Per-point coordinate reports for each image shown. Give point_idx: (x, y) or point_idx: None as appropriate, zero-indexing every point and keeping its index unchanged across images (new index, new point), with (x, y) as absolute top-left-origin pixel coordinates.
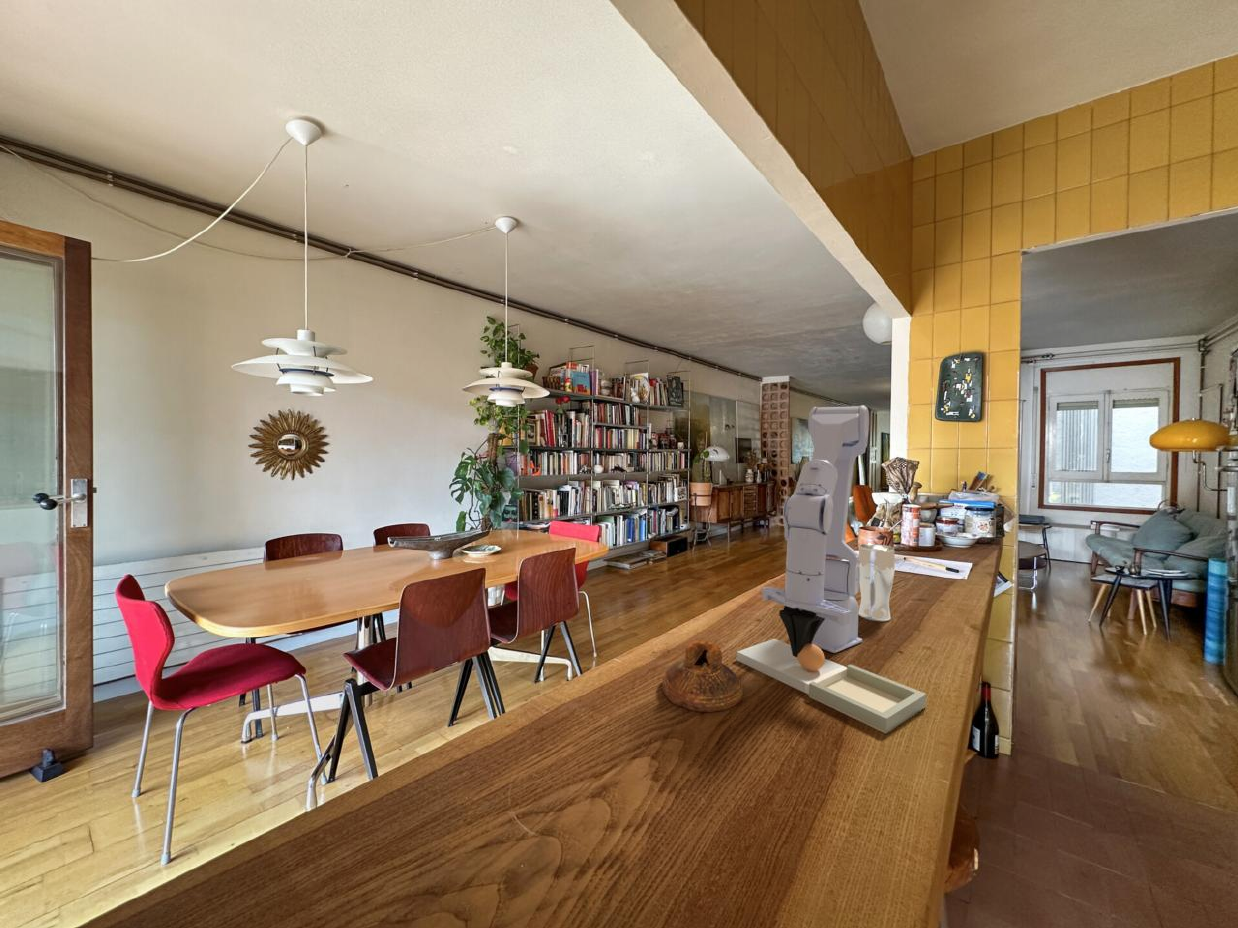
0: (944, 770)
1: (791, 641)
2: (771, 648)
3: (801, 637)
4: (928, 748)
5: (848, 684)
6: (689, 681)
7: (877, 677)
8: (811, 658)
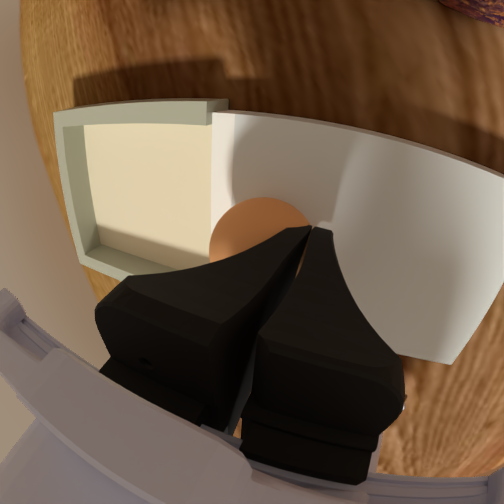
0: (29, 97)
1: (324, 254)
2: (448, 300)
3: (240, 256)
4: (47, 128)
5: (196, 243)
6: None
7: None
8: (230, 213)
